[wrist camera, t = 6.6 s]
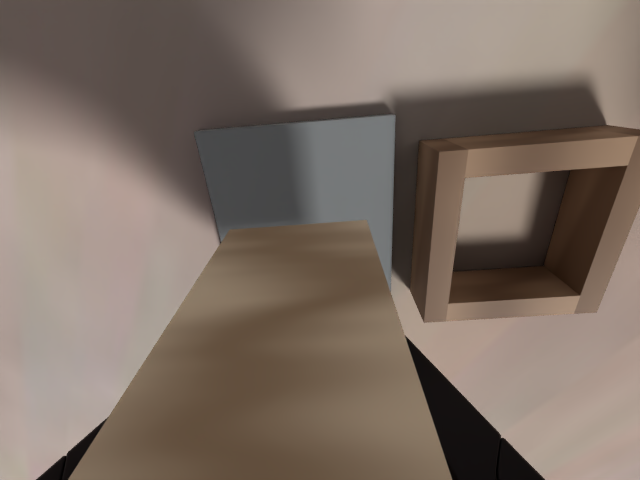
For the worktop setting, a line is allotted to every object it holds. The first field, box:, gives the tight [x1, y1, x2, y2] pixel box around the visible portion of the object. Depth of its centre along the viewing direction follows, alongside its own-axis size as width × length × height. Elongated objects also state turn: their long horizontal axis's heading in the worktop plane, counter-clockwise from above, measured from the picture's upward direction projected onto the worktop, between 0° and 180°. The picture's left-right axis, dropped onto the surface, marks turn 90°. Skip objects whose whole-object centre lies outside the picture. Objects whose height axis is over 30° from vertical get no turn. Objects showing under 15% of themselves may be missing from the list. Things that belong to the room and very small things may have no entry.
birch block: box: [68, 220, 452, 480], centre depth 7 cm, size 4×4×8 cm
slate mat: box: [194, 114, 395, 292], centre depth 15 cm, size 8×10×1 cm
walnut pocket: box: [410, 125, 640, 323], centre depth 13 cm, size 8×8×2 cm
